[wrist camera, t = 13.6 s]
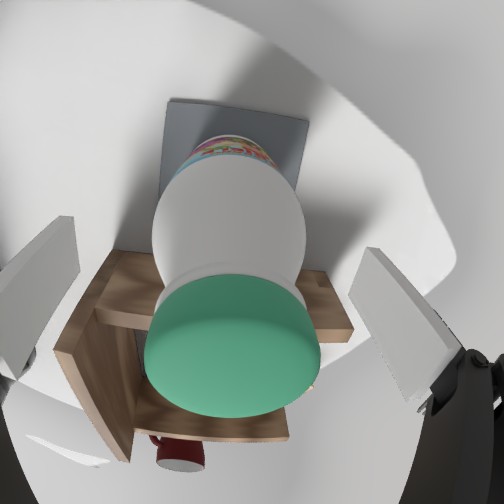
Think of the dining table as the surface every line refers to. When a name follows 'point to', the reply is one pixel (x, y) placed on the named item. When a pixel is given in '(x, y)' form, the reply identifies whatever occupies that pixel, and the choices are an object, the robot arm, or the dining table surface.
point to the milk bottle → (230, 286)
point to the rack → (128, 366)
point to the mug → (179, 454)
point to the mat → (230, 123)
